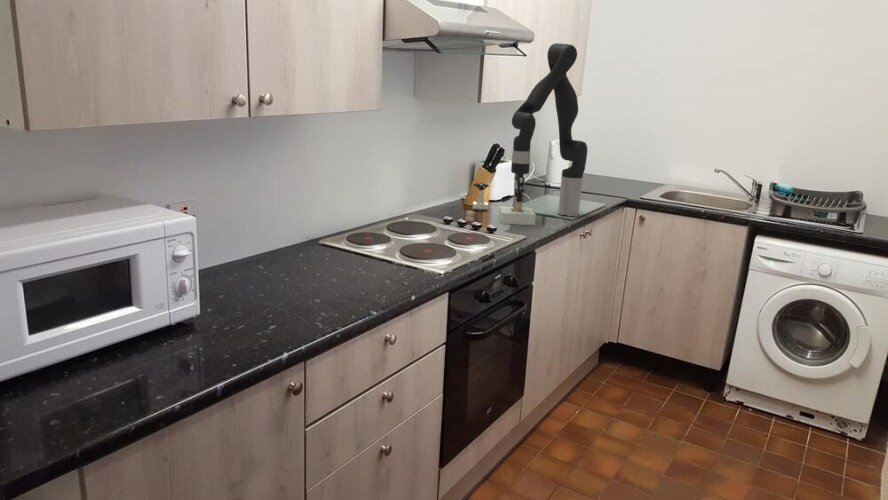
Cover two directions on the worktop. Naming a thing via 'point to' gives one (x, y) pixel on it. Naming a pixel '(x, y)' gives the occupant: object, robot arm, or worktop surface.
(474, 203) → the valve
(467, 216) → the short pin
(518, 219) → the pale green slotted block
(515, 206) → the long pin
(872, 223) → the worktop surface
